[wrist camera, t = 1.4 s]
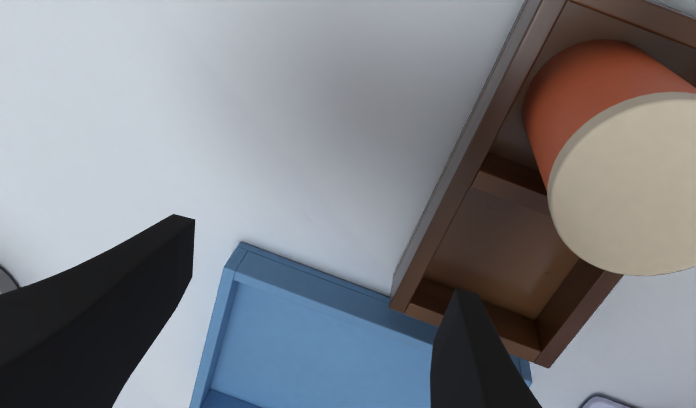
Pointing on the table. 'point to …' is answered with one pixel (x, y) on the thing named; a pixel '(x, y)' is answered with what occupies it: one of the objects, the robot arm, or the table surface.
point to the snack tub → (617, 156)
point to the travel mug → (6, 283)
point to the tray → (310, 342)
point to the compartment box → (523, 188)
